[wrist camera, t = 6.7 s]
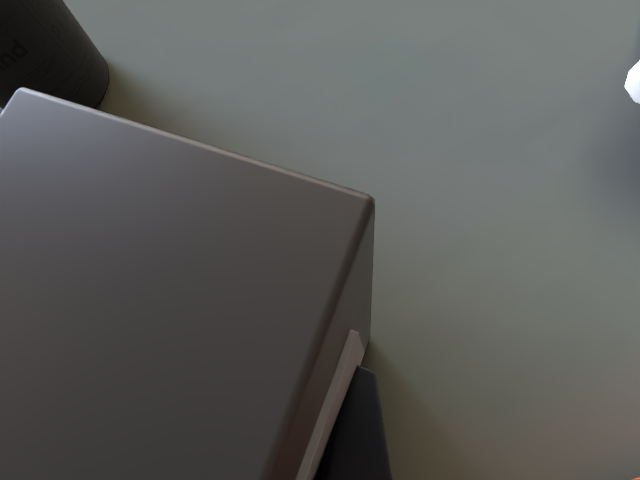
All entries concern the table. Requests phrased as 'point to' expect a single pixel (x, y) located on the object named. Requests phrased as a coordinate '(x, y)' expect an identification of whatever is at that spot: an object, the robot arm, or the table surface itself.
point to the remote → (169, 303)
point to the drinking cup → (48, 53)
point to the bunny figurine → (634, 83)
